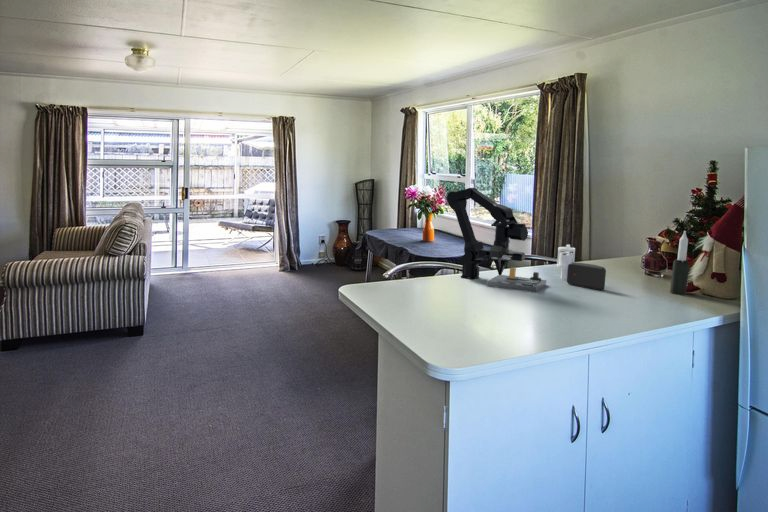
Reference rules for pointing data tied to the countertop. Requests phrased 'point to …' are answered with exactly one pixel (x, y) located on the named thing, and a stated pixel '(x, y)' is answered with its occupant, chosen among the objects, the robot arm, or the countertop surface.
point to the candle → (680, 268)
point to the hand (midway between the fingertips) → (500, 274)
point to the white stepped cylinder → (565, 259)
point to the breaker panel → (518, 283)
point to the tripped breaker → (512, 274)
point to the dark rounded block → (586, 275)
